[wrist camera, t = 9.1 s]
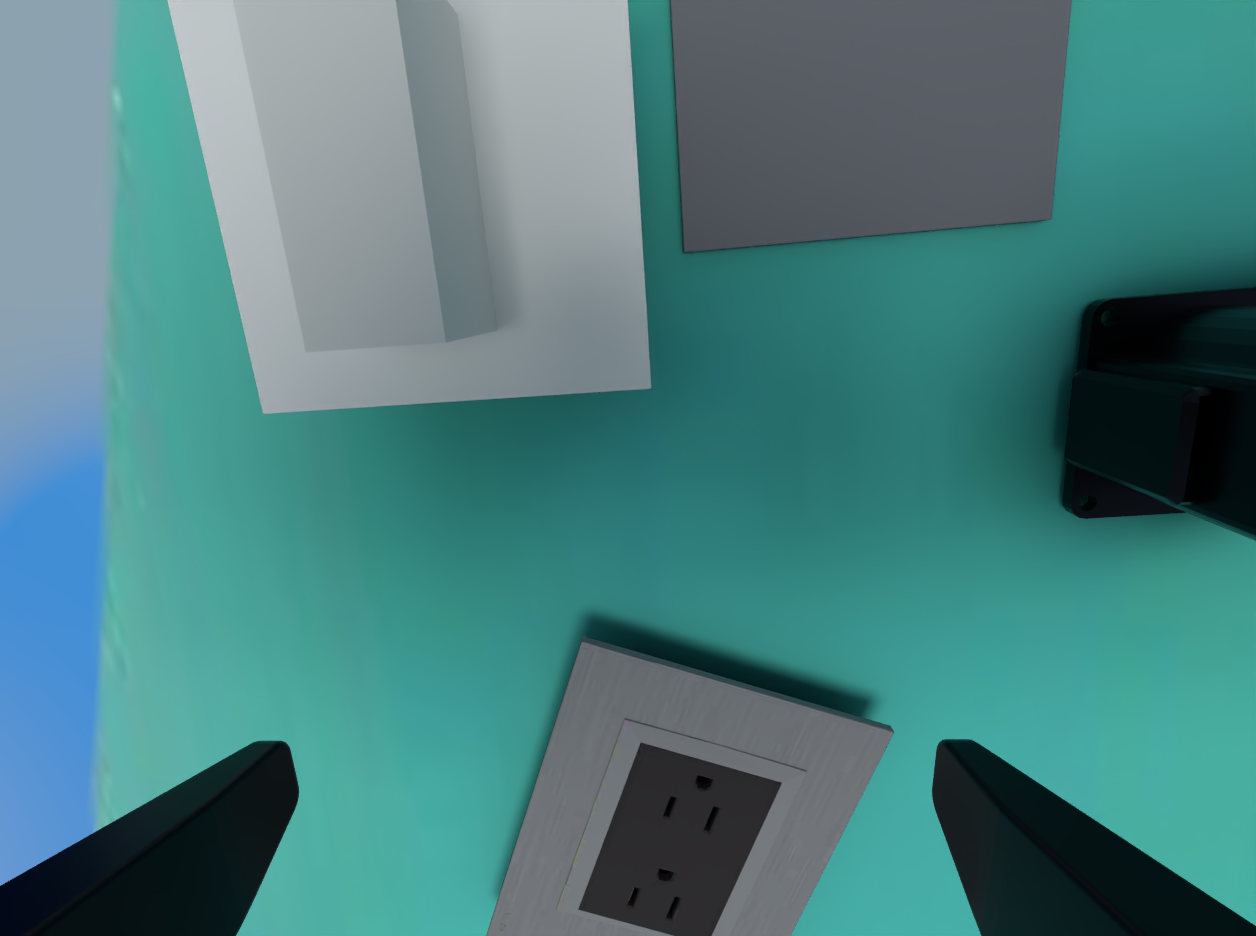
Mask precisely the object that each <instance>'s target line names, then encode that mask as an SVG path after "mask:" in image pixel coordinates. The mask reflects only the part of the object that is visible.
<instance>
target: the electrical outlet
mask: <svg viewBox="0 0 1256 936" xmlns="http://www.w3.org/2000/svg"><path fill="white" fill-rule="evenodd" d="M893 734H894V731H893V729H892V728H891V726H889V725H886V724H882V723H879V722H875V721H872V720H869V719H865V718H862V717H858V716H855V715H851V714H848V713H845V712H841V711H838V710H834V709H831V708H828V707H824V706H821V705H817V704H814V703H810V702H807V701H804V700H800V699H797V698H793V697H790V696H787V695H783V694H780V693H776V692H773V691H769V690H766V689H763V688H759V687H756V686H752V685H749V684H746V683H742V682H739V681H735V680H732V679H728V678H725V677H722V676H718V675H715V674H711V673H708V672H705V671H701V670H698V669H694V668H691V667H687V666H684V665H681V664H677V663H674V662H670V661H667V660H664V659H660V658H657V657H653V656H650V655H646V654H643V653H640V652H636V651H633V650H629V649H626V648H623V647H619V646H616V645H612V644H609V643H605V642H602V641H599V640H595V639H592V638H588V637H585V636H583V638H582V641H581V644H580V648H579V651H578V654H577V657H576V660H575V663H574V666H573V669H572V672H571V675H570V678H569V681H568V685H567V688H566V691H565V694H564V697H563V700H562V703H561V706H560V709H559V712H558V715H557V718H556V722H555V725H554V728H553V731H552V734H551V737H550V740H549V743H548V746H547V749H546V752H545V756H544V759H543V762H542V765H541V768H540V771H539V774H538V777H537V780H536V783H535V786H534V789H533V793H532V796H531V799H530V802H529V805H528V808H527V811H526V814H525V817H524V820H523V823H522V826H521V830H520V833H519V836H518V839H517V842H516V845H515V848H514V851H513V854H512V857H511V860H510V863H509V867H508V870H507V873H506V876H505V879H504V882H503V885H502V888H501V891H500V894H499V897H498V901H497V904H496V907H495V910H494V913H493V916H492V919H491V922H490V925H489V928H488V932H487V935H486V936H791V934H792V932H793V930H794V928H795V926H796V924H797V922H798V920H799V918H800V916H801V914H802V912H803V910H804V908H805V906H806V904H807V902H808V900H809V898H810V897H811V895H812V893H813V891H814V889H815V887H816V885H817V883H818V881H819V879H820V877H821V875H822V873H823V871H824V869H825V867H826V865H827V863H828V861H829V859H830V857H831V855H832V853H833V851H834V849H835V847H836V845H837V844H838V842H839V840H840V838H841V836H842V834H843V832H844V830H845V828H846V826H847V824H848V822H849V820H850V818H851V816H852V814H853V812H854V810H855V808H856V806H857V804H858V802H859V800H860V798H861V796H862V794H863V792H864V791H865V789H866V787H867V785H868V783H869V781H870V779H871V777H872V775H873V773H874V771H875V769H876V767H877V765H878V763H879V761H880V759H881V757H882V755H883V753H884V751H885V749H886V747H887V745H888V743H889V741H890V740H891V738H892V736H893Z"/></svg>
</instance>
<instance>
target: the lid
mask: <svg viewBox="0 0 1256 936" xmlns="http://www.w3.org/2000/svg"><path fill="white" fill-rule="evenodd" d="M168 5H169V9H170V13H171V18H172V22H173V26H174V31H175V35H176V39H177V43H178V48H179V52H180V56H181V61H182V65H183V69H184V74H185V78H186V82H187V87H188V91H189V95H190V100H191V104H192V108H193V113H194V117H195V121H196V126H197V130H198V134H199V139H200V143H201V147H202V151H203V156H204V160H205V164H206V169H207V173H208V177H209V182H210V186H211V190H212V195H213V199H214V203H215V208H216V212H217V216H218V221H219V225H220V229H221V234H222V238H223V242H224V246H225V251H226V255H227V259H228V264H229V268H230V272H231V277H232V281H233V285H234V290H235V294H236V298H237V303H238V307H239V311H240V316H241V320H242V324H243V329H244V333H245V337H246V341H247V346H248V350H249V354H250V359H251V363H252V367H253V372H254V376H255V380H256V385H257V389H258V393H259V398H260V402H261V406H262V411H263V414H269V413H285V412H300V411H315V410H331V409H346V408H362V407H377V406H392V405H408V404H423V403H439V402H454V401H469V400H485V399H500V398H515V397H531V396H546V395H562V394H577V393H592V392H608V391H623V390H639V389H651V370H650V354H649V338H648V321H647V305H646V288H645V272H644V256H643V239H642V223H641V206H640V190H639V174H638V157H637V141H636V124H635V108H634V92H633V75H632V59H631V42H630V26H629V10H628V0H168Z"/></svg>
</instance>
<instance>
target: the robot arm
mask: <svg viewBox="0 0 1256 936" xmlns="http://www.w3.org/2000/svg"><path fill="white" fill-rule="evenodd" d="M1106 310H1108V311H1109V312H1110V318H1109V321H1108V322H1107V323H1106V324H1105V325H1103V324H1102V321H1101V317H1102V314H1103V313H1104V312H1105V311H1106ZM1065 458H1066V459H1067V465H1066V474H1065V483H1064V492H1063V506H1064V508H1065V509H1066V511H1068V512H1070V513H1072V514H1073V515H1075V516H1077V517H1079V518H1085V519H1088V518H1104V517H1121V516H1137V515H1154V514H1170V513H1189V514H1192V515H1194V516H1196V517H1199V518H1201V519H1204V520H1206V521H1209V522H1211V523H1214V524H1216V525H1219V526H1221V527H1223V528H1226V529H1228V530H1231V531H1233V532H1236V533H1238V534H1241V535H1243V536H1245V537H1248V538H1250V539H1253V540H1255V541H1256V287H1243V288H1231V289H1219V290H1206V291H1194V292H1182V293H1169V294H1157V295H1145V296H1132V297H1120V298H1108V299H1101V300H1097V301H1095V302H1093V303H1092V304H1090V305H1089V306H1088V308H1087V309H1086V310H1085V312H1084V315H1083V319H1082V328H1081V337H1080V347H1079V356H1078V365H1077V374H1076V375H1075V377H1074V378H1073V383H1072V393H1071V402H1070V411H1069V420H1068V429H1067V439H1066V448H1065ZM1087 495H1088V500H1087V502H1086V503H1085V504H1084V505H1083V506H1080V505H1079V503H1080V500H1081V499H1082V498H1083V497H1084V496H1087ZM298 797H299V786H298V781H297V777H296V772H295V768H294V763H293V759H292V754H291V750H290V747H289V746H288V744H287V743H286V742H283V741H256V742H253V743H251V744H250V745H248V746H246V747H244V748H242V749H241V750H239V751H237V752H235V753H234V754H232V755H230V756H228V757H227V758H225V759H223V760H221V761H220V762H218V763H216V764H214V765H213V766H211V767H209V768H207V769H205V770H204V771H202V772H200V773H198V774H197V775H195V776H193V777H191V778H190V779H188V780H186V781H184V782H183V783H181V784H179V785H177V786H176V787H174V788H172V789H170V790H168V791H167V792H165V793H163V794H161V795H160V796H158V797H156V798H154V799H153V800H151V801H149V802H147V803H146V804H144V805H142V806H140V807H139V808H137V809H135V810H133V811H131V812H130V813H128V814H126V815H124V816H123V817H121V818H119V819H117V820H116V821H114V822H112V823H110V824H109V825H107V826H105V827H103V828H101V829H100V830H98V831H96V832H94V833H93V834H91V835H89V836H88V837H86V838H84V839H82V840H80V841H79V842H77V843H75V844H73V845H72V846H70V847H68V848H66V849H64V850H63V851H61V852H59V853H58V854H56V855H54V856H52V857H50V858H49V859H47V860H45V861H43V862H42V863H40V864H38V865H36V866H35V867H33V868H31V869H29V870H27V871H26V872H24V873H22V874H20V875H19V876H17V877H15V878H14V879H12V880H10V881H8V882H6V883H5V884H3V885H1V886H0V936H236V935H237V933H238V931H239V929H240V927H241V925H242V923H243V921H244V919H245V917H246V915H247V913H248V911H249V909H250V907H251V905H252V903H253V901H254V899H255V896H256V894H257V892H258V890H259V888H260V885H261V883H262V881H263V879H264V877H265V874H266V872H267V870H268V868H269V865H270V863H271V861H272V859H273V857H274V854H275V852H276V850H277V848H278V846H279V843H280V841H281V839H282V837H283V835H284V832H285V830H286V828H287V826H288V824H289V821H290V819H291V817H292V815H293V813H294V810H295V808H296V805H297V802H298ZM932 797H933V803H934V807H935V810H936V813H937V816H938V819H939V822H940V824H941V827H942V830H943V833H944V835H945V838H946V841H947V844H948V846H949V849H950V852H951V855H952V857H953V860H954V863H955V866H956V869H957V871H958V874H959V877H960V880H961V882H962V885H963V888H964V891H965V893H966V896H967V899H968V902H969V904H970V907H971V910H972V913H973V915H974V918H975V920H976V923H977V926H978V928H979V931H980V933H981V936H1256V926H1255V925H1253V924H1252V923H1250V922H1249V921H1247V920H1246V919H1244V918H1243V917H1241V916H1240V915H1238V914H1237V913H1235V912H1234V911H1232V910H1231V909H1229V908H1228V907H1226V906H1225V905H1223V904H1222V903H1220V902H1218V901H1217V900H1215V899H1214V898H1212V897H1211V896H1209V895H1208V894H1206V893H1205V892H1203V891H1202V890H1200V889H1199V888H1197V887H1196V886H1194V885H1193V884H1191V883H1190V882H1188V881H1187V880H1185V879H1184V878H1182V877H1181V876H1179V875H1177V874H1176V873H1174V872H1173V871H1171V870H1170V869H1168V868H1167V867H1165V866H1164V865H1162V864H1161V863H1159V862H1158V861H1156V860H1155V859H1153V858H1152V857H1150V856H1149V855H1147V854H1146V853H1144V852H1143V851H1141V850H1139V849H1138V848H1136V847H1135V846H1133V845H1132V844H1130V843H1129V842H1127V841H1126V840H1124V839H1123V838H1121V837H1120V836H1118V835H1117V834H1115V833H1114V832H1112V831H1111V830H1109V829H1108V828H1106V827H1105V826H1103V825H1102V824H1100V823H1098V822H1097V821H1095V820H1094V819H1092V818H1091V817H1089V816H1088V815H1086V814H1085V813H1083V812H1082V811H1080V810H1079V809H1077V808H1076V807H1074V806H1073V805H1071V804H1070V803H1068V802H1067V801H1065V800H1064V799H1062V798H1061V797H1059V796H1057V795H1056V794H1054V793H1053V792H1051V791H1050V790H1048V789H1047V788H1045V787H1044V786H1042V785H1041V784H1039V783H1038V782H1036V781H1035V780H1033V779H1032V778H1030V777H1029V776H1027V775H1026V774H1024V773H1023V772H1021V771H1019V770H1018V769H1016V768H1015V767H1013V766H1012V765H1010V764H1009V763H1007V762H1006V761H1004V760H1003V759H1001V758H1000V757H998V756H997V755H995V754H994V753H992V752H991V751H989V750H988V749H986V748H985V747H983V746H982V745H980V744H978V743H977V742H975V741H973V740H969V739H945V740H942V741H940V742H939V744H938V746H937V750H936V759H935V768H934V777H933V786H932Z"/></svg>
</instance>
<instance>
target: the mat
mask: <svg viewBox="0 0 1256 936" xmlns="http://www.w3.org/2000/svg"><path fill="white" fill-rule="evenodd" d="M1071 1H1072V0H670V8H671V26H672V45H673V63H674V81H675V99H676V117H677V136H678V154H679V172H680V190H681V208H682V227H683V245H684V253H688V252H699V251H710V250H721V249H733V248H744V247H755V246H766V245H778V244H789V243H800V242H811V241H822V240H834V239H845V238H856V237H867V236H879V235H890V234H901V233H912V232H924V231H935V230H946V229H957V228H969V227H980V226H991V225H1002V224H1014V223H1025V222H1036V221H1045V220H1050V219H1051V216H1052V206H1053V195H1054V184H1055V173H1056V163H1057V152H1058V141H1059V130H1060V120H1061V109H1062V98H1063V87H1064V77H1065V66H1066V55H1067V44H1068V34H1069V23H1070V12H1071Z"/></svg>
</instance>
